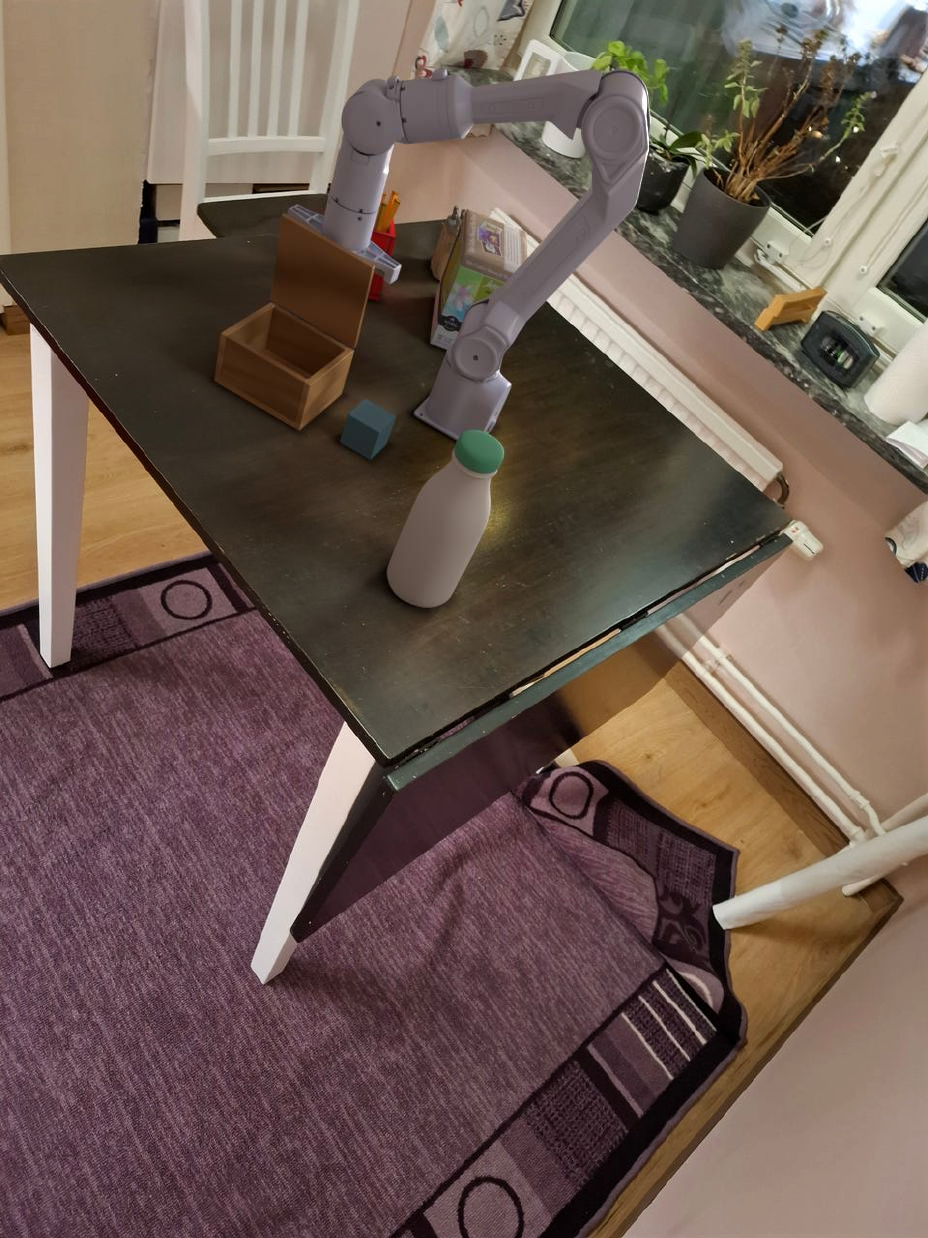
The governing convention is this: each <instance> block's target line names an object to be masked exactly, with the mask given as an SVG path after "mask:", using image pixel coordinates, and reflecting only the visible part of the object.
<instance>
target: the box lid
mask: <svg viewBox="0 0 928 1238" xmlns="http://www.w3.org/2000/svg"><path fill="white" fill-rule="evenodd" d="M287 214H288V213H286V212H284V213H281V214H280V221H279V228H278V229H279V230H278V238H277V246H276V254H275V262H274V268H273V269H274V270H273V277H272V278H273V279H272V285H271V293H270V301H271V302H272V303H274V304H275V305H277V306H279V307H281V308H282V309H284V310H286V311H287V312H289V313H291V314H293V315H294V316H296V317H298V318H299V319H301V320H303V321H304V322H306V323H308V324H310V325H311V326H313V327H315V328H316V329H318V330H320V331H322V332H323V333H325V334H327V335H328V336H330V337H332V338H334V339H335V340H337V341H339V342H340V343H342V344H344V345H345V346H347V347H349V348H351V349H352V350H354V349H355V348H356V347H357V346H358V340H359V336H360V332H361V328H362V324H363V318H364V316H365V311H366V306H367V302H368V299H369V298H368V295H369V290H370V286H371V282H372V278H373V273H374V269H375V265H374V264H372V263H370V262H368V261H367V260H365V259H363V258H362V257H360V256H358V255H356V254H355V253H353V252H351V251H349V250H348V249H346V248H344V247H343V246H341V245H339V244H337V243H336V242H334V241H332V240H331V239H329V238H327V237H325V236H324V235H322V234H320V233H318V232H317V231H315V230H313V229H312V228H310V227H308V226H306V225H305V224H303V223H301V222H300V221H298V220H296V219H294V218H293V217H291V216H289V215H287Z"/></svg>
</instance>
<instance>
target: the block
mask: <svg viewBox="0 0 928 1238" xmlns="http://www.w3.org/2000/svg"><path fill="white" fill-rule="evenodd" d="M396 418H397V416H396V415H394V414H393V413H391V412H389V411H388V410H386V409H384V408H383V407H381V406H379V405H377V404H376V403H373V402H372V401H371V400H369V399H367V398H364V399H363V400H362V401H361V402H360V403H358V404H357V405H356V406H354V408H352V410H350V412H348V414H347V415H346V419H345V423H344V426H343V430H342V433H341V436H340V440H339V443H340V444H342V445H344V446H346V447H347V448H349V449H350V450H352V451H354V452H355V453H357V454H358V455H361V456H362V457H364V458H366V459H367V460H369V461H371V460H372V459H373V458H374V457H375V456H376V455H377V454H378V453H379V452H380V451H381V450H382V449H383V448H384V447H385V446H386V445H387V443H388V440H389V438H390V435H391V432H392V429H393V426H394V423H395V420H396Z"/></svg>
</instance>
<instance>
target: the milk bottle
mask: <svg viewBox="0 0 928 1238" xmlns="http://www.w3.org/2000/svg"><path fill="white" fill-rule="evenodd" d="M504 449H505V448H504V447H503V445H502V443H501V442H500V441H499V440H498V439H497V438H496V437H494V436H493V435H491V434H489V433H485V432H483V431H478V430H468V431H465V432H463V433H462V434H461V435H460V436H459V438H458V440H457V441H456V442H455V444H454V448H453V450H452V452H451V460H450V461H449V462H448V463H447V464H446V465H445V466H444V467H443V468H441V469H440V470H439V471H437V472H436V473H435V474H433V475H432V476H431V477H430V478H429V479H428V480H427V481H426V482H425V483H424V484H423V486H422V488H421V489H420V491H419V492H418V494H417V496H416V499H415V500H414V503H413V505H412V506H411V508H410V511H409V514H408V515H407V518H406V521H405V523H404V526H403V528H402V530H401V532H400V535H399V538H398V540H397V542H396V545H395V547H394V549H393V552H392V554H391V556H390V560H389V562H388V566H387V569H386V577H387V581H388V585H389V586H390V589H391V590H392V591H393V593H394V594H395V595H396V596H397V597H398V598H400V599H401V600H402V601H404V602H406V603H408V604H409V605H412V606H415V607H417V608H425V609H426V608H429V609H432V608H437V607H438V606H441V605H443V604H445V603H446V602H448V601H449V600H450V598H451V597H452V596H453V593H454V592H455V590H456V588H457V586H458V584H459V582H460V581H461V579H462V576H463V574H464V573H465V571H466V569H467V567H468V565H469V563H470V561H471V559H472V558H473V555H474V553H475V552H476V549H477V547H478V545H479V543H480V541H481V539H482V538H483V535H484V533H485V530H486V528H487V526H488V522H489V521H490V516H491V508H492V507H491V506H492V501H491V500H492V499H491V498H492V497H491V482H492V477H494V476H495V475H496V474H497V472H498V469H499V468H500V467H501V465H502V463H503V460H504V458H505V450H504Z"/></svg>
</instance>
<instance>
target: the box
mask: <svg viewBox="0 0 928 1238" xmlns="http://www.w3.org/2000/svg"><path fill="white" fill-rule="evenodd" d="M354 353H355V350H354V349H353V348H352V347H349V346H348V345H346V344H345V343H343V342H341V341H340V340H338V339H336V338H334V337H333V336H331V335H329V334H328V333H326V332H324V331H322V330H321V329H319V328H317V327H316V326H314V325H312V324H310V323H309V322H307V321H305V320H304V319H302V318H300V317H298V316H297V315H295V314H293V313H292V312H290V311H288V310H287V309H285V308H283V307H281V306H280V305H277V304H276V303H275V302H273V301H271V302H269V303H266V305H264V306H262V307H261V308H259V309H258V310H256V311H254V312H253V313H251V314H249V315H248V316H246V317H245V318H243V319H241V320H240V321H238V322H236V323H235V324H233V325H232V326H230V327H228V328H227V329H225V330H224V331H222V332H221V333H220V337H219V346H218V350H217V358H216V359H217V360H216V364H215V365H216V366H215V371H214V372H215V373H214V382H215V383H217V384H218V385H220V386H222V387H224V388H225V389H227V390H228V391H230V392H232V393H234V394H235V395H237V396H239V397H241V398H243V399H244V400H245V401H247V402H249V403H250V404H253V405H254V406H256V407H257V408H258V409H261V410H263V411H264V412H266V413H268V414H269V415H271V416H273V417H275V418H276V419H278V420H280V421H281V422H283V423H285V424H287V425H288V426H290V427H292V428H293V429H295V430H296V431H301V430H302V429H303V428H305V426H307V425H308V424H309V423H310V422H311V421H313V420H314V419H315V418H316V417H317V416H318V415H320V414H321V413H322V412H324V410H326V408H328V407H329V406H330V405H331V404H333V403H334V402H335V401H336V400H337V399H338V398H339V397H341V396H342V394H343V391H344V387H345V384H346V381H347V377H348V374H349V371H350V367H351V362H352V359H353V356H354Z"/></svg>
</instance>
